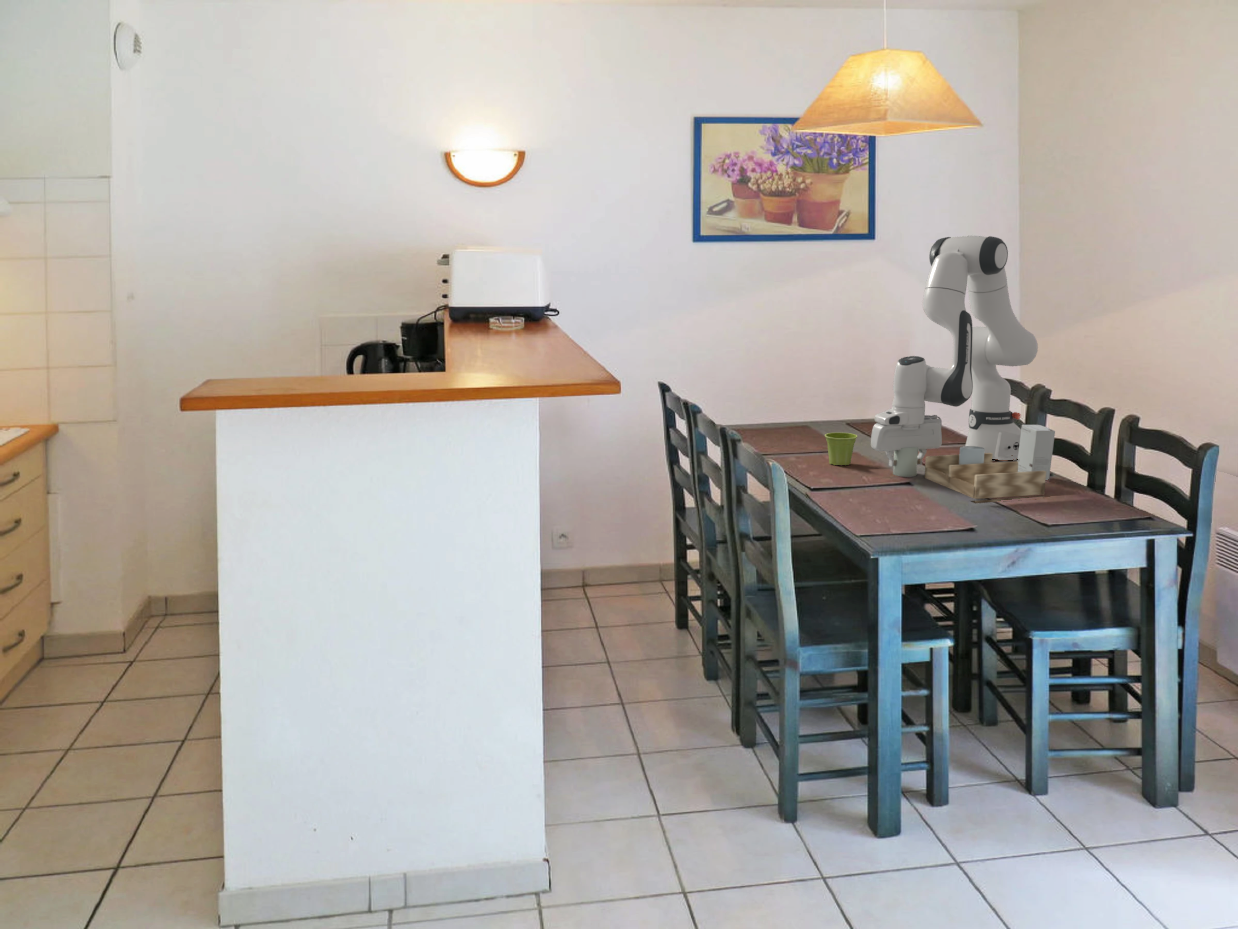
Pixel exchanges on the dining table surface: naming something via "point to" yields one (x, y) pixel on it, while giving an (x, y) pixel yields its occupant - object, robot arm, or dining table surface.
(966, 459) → the pale blue-grey rounded dome
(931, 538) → the dining table surface
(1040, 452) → the skincare box
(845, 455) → the plant pot
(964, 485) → the rack
